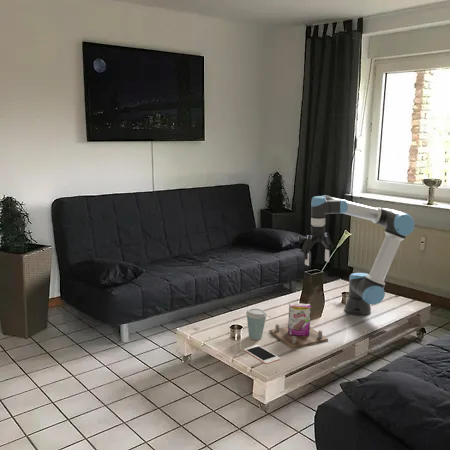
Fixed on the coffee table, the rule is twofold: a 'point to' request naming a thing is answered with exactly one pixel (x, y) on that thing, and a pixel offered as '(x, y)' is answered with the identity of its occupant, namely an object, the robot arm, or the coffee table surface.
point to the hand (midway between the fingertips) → (317, 263)
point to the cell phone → (261, 354)
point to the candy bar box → (299, 319)
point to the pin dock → (298, 337)
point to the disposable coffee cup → (256, 322)
